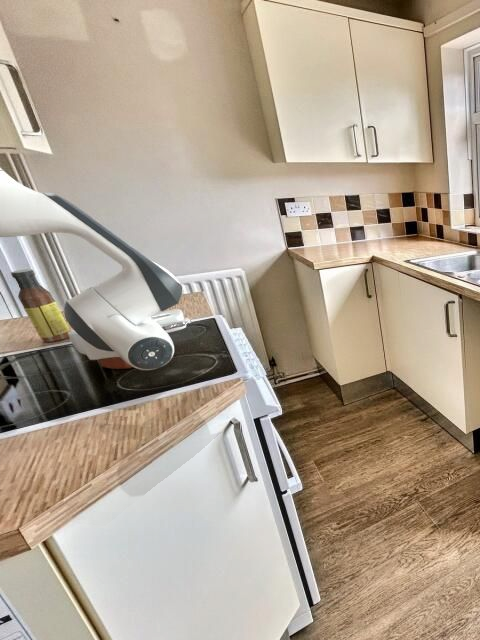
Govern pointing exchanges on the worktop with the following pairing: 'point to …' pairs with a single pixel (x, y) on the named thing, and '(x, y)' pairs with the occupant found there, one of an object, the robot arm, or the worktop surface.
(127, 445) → the worktop surface
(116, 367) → the bowl
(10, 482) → the worktop surface
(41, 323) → the sauce bottle
